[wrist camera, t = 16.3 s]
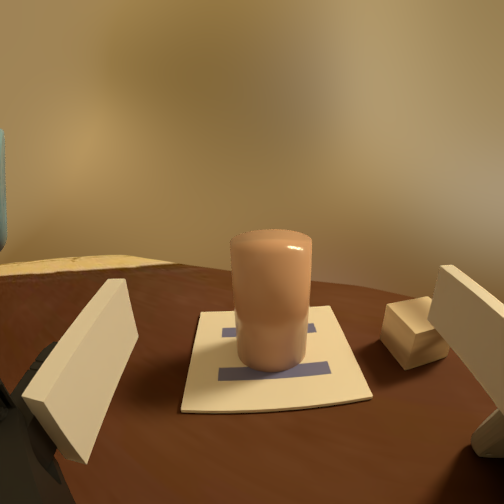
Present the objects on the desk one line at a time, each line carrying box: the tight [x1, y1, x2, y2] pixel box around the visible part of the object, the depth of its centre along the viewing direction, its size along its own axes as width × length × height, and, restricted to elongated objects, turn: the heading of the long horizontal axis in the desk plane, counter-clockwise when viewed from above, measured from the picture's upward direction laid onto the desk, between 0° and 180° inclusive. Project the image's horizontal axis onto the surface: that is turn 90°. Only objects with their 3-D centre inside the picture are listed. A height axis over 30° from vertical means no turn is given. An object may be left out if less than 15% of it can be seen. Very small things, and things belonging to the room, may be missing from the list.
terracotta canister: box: [230, 229, 312, 372], centre depth 24 cm, size 6×6×10 cm
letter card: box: [181, 306, 373, 413], centre depth 26 cm, size 14×14×1 cm
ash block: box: [380, 296, 450, 370], centre depth 24 cm, size 5×5×4 cm
